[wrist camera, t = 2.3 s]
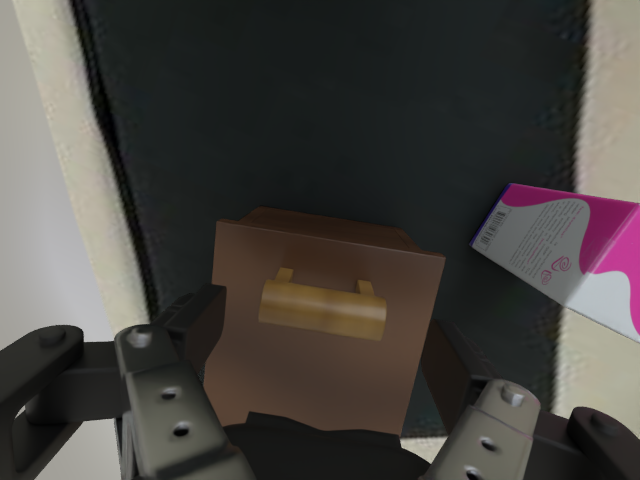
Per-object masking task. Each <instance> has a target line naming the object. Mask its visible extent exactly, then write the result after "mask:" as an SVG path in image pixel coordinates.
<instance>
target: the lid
mask: <svg viewBox="0 0 640 480" xmlns="http://www.w3.org/2000/svg"><path fill="white" fill-rule="evenodd" d="M445 260H446V257H445V256H443V255H442V254H441V253H435V252H429V251H423V250H417V249H410V248H404V247H398V246H391V245H385V244H379V243H372V242H366V241H360V240H353V239H347V238H341V237H334V236H328V235H322V234H316V233H309V232H303V231H297V230H290V229H284V228H278V227H271V226H265V225H259V224H252V223H246V222H240V221H234V220H227V219H220V220H219V221H217V223H216V236H215V248H214V261H213V274H212V284H215V285H221V286H226V288H227V295H226V307H225V318H224V327H223V331H222V335H221V337H220V339H219V341H218V343H217V344H216V346H215V347H214V349H213V351H212V352H211V354H210V355H209V357H208V359H207V360H206V363H205V376H204V390H205V392H206V394H207V396H208V398H209V400H210V402H211V404H212V406H213V408H214V410H215V412H216V414H217V417H218V419H219V421H220V423H221V425H222V427H223V426H227V425H232V424H238V423H245V422H246V419H247V416H248V413H249V411H252V412H258V413H265V414H271V415H277V416H284V417H287V418H290V419H293V420H296V421H298V422H301V423H304V424H306V425H309V426H312V427H314V428H317V429H320V430H324V431H331V430H350V429H366V430H372V431H378V432H385V433H391V434H397V435H399V439H400V435H401V431H402V427H403V423H404V419H405V415H406V411H407V408H408V404H409V400H410V396H411V392H412V388H413V384H414V380H415V377H416V373H417V369H418V365H419V361H420V357H421V353H422V349H423V346H424V342H425V338H426V334H427V330H428V326H429V322H430V319H431V315H432V311H433V307H434V303H435V299H436V295H437V291H438V288H439V284H440V280H441V276H442V272H443V268H444V264H445Z"/></svg>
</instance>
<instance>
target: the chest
mask: <svg viewBox="0 0 640 480" xmlns="http://www.w3.org/2000/svg"><path fill="white" fill-rule="evenodd" d="M239 221H240V222H246V223H252V224H259V225H265V226H271V227H278V228H284V229H290V230H297V231H303V232H309V233H316V234H322V235H328V236H334V237H341V238H347V239H353V240H360V241H366V242H372V243H379V244H385V245H391V246H398V247H404V248H410V249H417V250H421V249H420V248H419V247H418V246H417V245H416V244H415V243H414V242H413V240H412V239H411V238H410V237H409V236H408V235H407V234H406V233H405V232H404V231H403V230H402V229H401V228H396V227H390V226H384V225H378V224H371V223H365V222H359V221H352V220H346V219H340V218H333V217H327V216H321V215H314V214H308V213H302V212H295V211H289V210H283V209H277V208H270V207H264V206H259V207H258V208H256V209H255V210H253V211H252V212H250V213H249V214H248V215H246V216H245V217H243V218H242V219H240V220H239Z"/></svg>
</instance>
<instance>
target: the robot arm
mask: <svg viewBox="0 0 640 480" xmlns="http://www.w3.org/2000/svg"><path fill="white" fill-rule="evenodd" d="M226 295H227V288H226V286H221V285H215V284H209V283H206V284H205V285H204V286H203V287H202V288H201V289H200V290H199V291H198V292H197V293H196V294H192V293H189V294H187V295H184V296H182V297H179V298H178V299H177V300H175V301H174V302H173V303H172V304H171V306H169V307H168V308H167V309H166V310H165V311H163V312H162V313H161V314H160V315H159V316H158V317H157V318H156V319H154V320H153V321H152V322H151V323H150V324H142V325H135V326H131V327H128V328H125V329H123V330H122V331H120V332H119V333H118V334H117V335H116V336H115V338H114V341H109V342H84V336H83V335H84V334H83V331H82V329H80V328H78V327H76V326H71V325H56V326H49V327H44V328H40V329H38V330H35V331H32V332H30V333H28V334H26V335H25V336H23V337H22V338H20V339H18V340H17V341H15V342H14V343H12V344H11V345H9V346H7V347H6V348H4V349H2V350H1V351H0V480H34V479H35V478H36V477H37V476H38V474H39V473H40V472H41V471H42V470H43V469H44V468H45V466H46V465H47V464H48V463H49V462H50V461H51V459H52V458H53V457H54V456H55V455H56V454H57V452H58V451H59V450H60V449H61V448H62V446H63V445H64V444H65V443H66V442H67V441H68V440H69V438H70V437H71V436H72V435H73V433H75V431H76V430H77V429H78V428H79V427H80V426H81V424H82V423H83V421H90V420H101V419H112V418H114V425H115V432H116V439H117V447H118V455H119V462H120V470H121V480H640V440H639V439H638V438H637V437H636V436H635V435H634V434H633V433H632V432H631V431H630V430H629V429H628V428H627V427H626V426H624V425H623V424H622V423H620V422H619V421H617V420H616V419H614V418H612V417H610V416H609V415H607V414H604V413H602V412H600V411H597V410H595V409H591V408H587V407H575V408H574V409H573V411H572V413H571V416H570V418H569V419H566V418H563V417H560V416H557V415H554V414H551V413H549V412H546V411H543V410H541V409H540V403H539V401H538V399H537V398H536V397H535V396H534V395H533V394H532V393H531V392H529V391H528V390H526V389H525V388H523V387H522V386H520V385H518V384H515V383H513V382H510V381H507V380H504V379H503V378H502V376H501V375H500V374H499V373H498V371H497V370H496V369H495V367H494V366H493V365H492V363H490V362H489V359H488V358H487V357H486V355H484V353H483V352H482V350H481V349H480V348H479V346H478V345H477V344H475V343H474V342H473V341H471V340H470V339H469V338H467V337H464V336H463V334H462V333H461V332H460V330H459V329H458V327H457V326H456V325H455V323H454V322H449V321H443V320H436V319H433V320H432V321H431V323H430V326H429V330H428V334H427V338H426V342H425V346H424V350H423V354H422V360H421V367H422V372H423V375H424V377H425V380H426V382H427V384H428V387H429V389H430V392H431V394H432V397H433V399H434V402H435V404H436V406H437V409H438V411H439V414H440V416H441V419H442V421H443V424H444V426H445V428H446V431H447V433H448V436H449V437H448V438H447V440H446V441H445V443H444V444H443V446H442V448H441V449H440V451H439V452H438V454H437V456H436V457H435V459H434V460H433V462H432V464H430V463H429V462H427V461H426V460H424V459H423V458H421V457H419V456H418V455H416V454H414V453H412V452H410V451H408V450H406V449H403V448H402V447H401V443H400V439H399V435H397V434H391V433H385V432H378V431H372V430H366V429H350V430H331V431H324V430H320V429H317V428H314V427H312V426H309V425H306V424H304V423H301V422H298V421H296V420H293V419H290V418H287V417H284V416H277V415H271V414H265V413H258V412H252V411H249V413H248V416H247V419H246V422H245V423H238V424H232V425H227V426H223V427H222V425H221V423H220V421H219V419H218V417H217V414H216V412H215V410H214V408H213V406H212V404H211V402H210V400H209V398H208V396H207V394H206V392H205V390H204V388H203V385H202V383H201V381H200V379H199V377H198V375H197V374H198V373H199V371H200V370H201V368H202V366H203V365H204V363H205V362H206V360H207V359H208V357H209V355H210V354H211V352H212V351H213V349H214V347H215V346H216V344H217V343H218V341H219V339H220V337H221V335H222V331H223V327H224V318H225V307H226ZM24 405H25V410H24V412H22V413H21V414H20V415H19V416H18V417H17V418H15V417H16V415H17V414H18V412H19V410H20V409H21V408H22V407H23V406H24Z"/></svg>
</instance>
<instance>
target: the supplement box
mask: <svg viewBox="0 0 640 480" xmlns="http://www.w3.org/2000/svg"><path fill="white" fill-rule="evenodd" d="M469 245H470V246H471V247H472V248H474V249H475V250H477V251H478V252H480V253H481V254H483V255H484V256H486V257H487V258H489V259H491V260H492V261H494V262H495V263H497V264H498V265H500V266H502V267H503V268H505V269H506V270H508V271H510V272H511V273H513V274H514V275H516V276H517V277H519V278H520V279H522V280H524V281H525V282H527V283H528V284H530V285H531V286H533V287H535V288H536V289H538V290H539V291H541V292H542V293H544V294H545V295H547V296H549V297H550V298H552V299H553V300H555V301H556V302H558V303H559V304H561V305H563V306H564V307H566V308H568V309H570V310H572V311H574V312H576V313H578V314H580V315H582V316H584V317H586V318H588V319H590V320H592V321H594V322H596V323H598V324H600V325H602V326H604V327H606V328H609V329H611V330H613V331H615V332H617V333H619V334H621V335H623V336H625V337H627V338H629V339H632V340H634V341H636V342H638V343H640V204H639V203H634V202H628V201H621V200H614V199H607V198H601V197H595V196H589V195H583V194H576V193H570V192H563V191H557V190H550V189H545V188H538V187H532V186H526V185H519V184H514V183H509V184H508V185H507V186H506V187H505V189H504V190H503V192H502V193H501V195H500V196H499V198H498V199H497V201H496V203H495V204H494V206H493V207H492V209H491V210H490V212H489V213H488V215H487V217H486V218H485V220H484V221H483V223H482V224H481V226H480V228H479V229H478V231H477V232H476V234H475V236H474V237H473V239H472V240H471V242H470V243H469Z"/></svg>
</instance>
